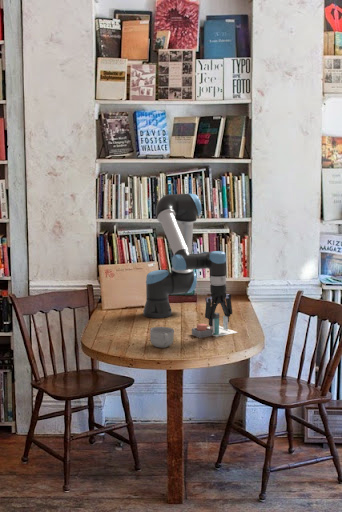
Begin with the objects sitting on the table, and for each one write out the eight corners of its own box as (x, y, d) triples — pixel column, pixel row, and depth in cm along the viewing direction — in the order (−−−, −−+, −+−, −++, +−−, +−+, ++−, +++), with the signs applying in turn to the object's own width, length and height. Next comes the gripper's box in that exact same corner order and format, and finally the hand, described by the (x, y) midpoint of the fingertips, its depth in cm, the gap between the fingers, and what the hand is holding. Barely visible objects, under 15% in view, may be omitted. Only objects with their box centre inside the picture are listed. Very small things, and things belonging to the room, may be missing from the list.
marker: (210, 333, 355) (210, 313, 353) (216, 332, 357) (216, 312, 355) (215, 335, 352) (215, 314, 350) (220, 334, 354) (220, 313, 352)
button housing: (191, 334, 354) (191, 328, 354) (203, 332, 358) (203, 326, 357) (200, 337, 348) (200, 331, 348) (212, 335, 352) (212, 329, 351)
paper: (196, 329, 363) (196, 328, 363) (218, 325, 370) (218, 325, 370) (216, 336, 350) (216, 336, 350) (237, 332, 357) (237, 332, 357)
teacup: (149, 343, 340) (149, 326, 339) (173, 342, 341) (173, 325, 340) (151, 351, 327) (151, 334, 325) (175, 351, 327) (175, 333, 326)
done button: (194, 331, 353) (194, 324, 353) (203, 330, 356) (203, 323, 356) (200, 333, 349) (200, 326, 349) (209, 332, 352) (209, 325, 351)
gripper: (205, 288, 342) (206, 336, 346) (239, 282, 353) (240, 328, 357) (196, 285, 348) (197, 332, 352) (230, 279, 359) (230, 325, 363)
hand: (219, 330), depth 354 cm, fingers open, 7 cm apart
